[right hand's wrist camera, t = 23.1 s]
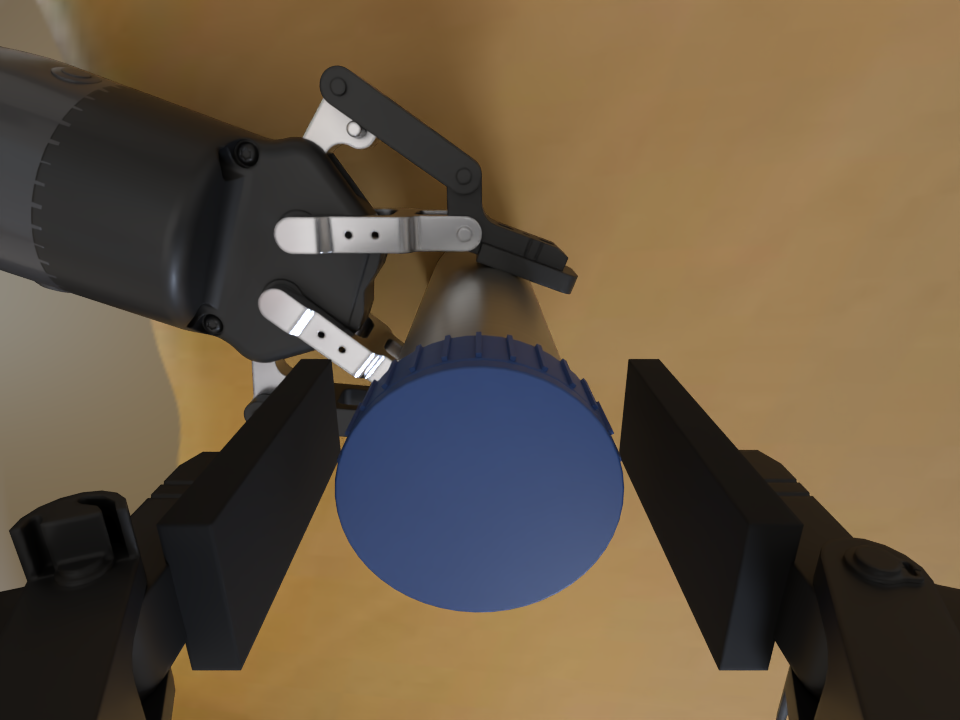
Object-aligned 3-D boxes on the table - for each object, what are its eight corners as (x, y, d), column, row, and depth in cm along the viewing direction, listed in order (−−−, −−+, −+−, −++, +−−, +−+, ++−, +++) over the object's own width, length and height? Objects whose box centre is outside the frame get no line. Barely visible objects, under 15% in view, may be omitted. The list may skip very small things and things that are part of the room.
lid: (659, 414, 12) (689, 460, 10) (516, 589, 13) (521, 654, 12) (433, 278, 11) (424, 302, 9) (309, 486, 12) (281, 540, 11)
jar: (545, 303, 27) (636, 510, 11) (463, 349, 28) (441, 600, 12) (497, 219, 26) (526, 320, 10) (412, 269, 27) (314, 438, 11)
